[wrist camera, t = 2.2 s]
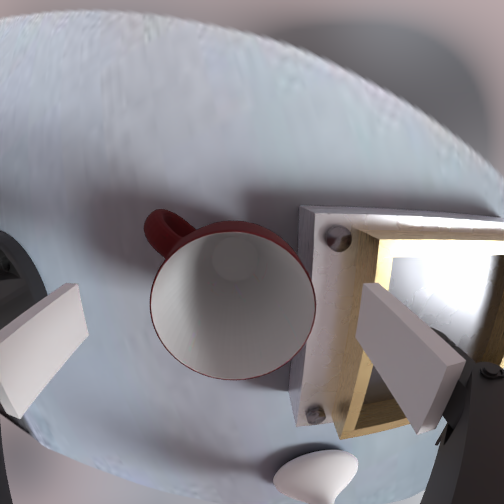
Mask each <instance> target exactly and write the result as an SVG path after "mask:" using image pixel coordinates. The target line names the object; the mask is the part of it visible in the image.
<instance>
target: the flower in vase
mask: <svg viewBox="0 0 504 504" xmlns="http://www.w3.org/2000/svg"><path fill="white" fill-rule="evenodd" d="M357 469H358V459H357V458H356V457H355V456H354V455H352V454H350V453H348V452H346V451H342V450H323V451H317V452H312V453H309V454H305V455H302V456H300V457H297V458H295V459H293V460H291V461H289V462H287V463H286V464H284V465H283V466H282V467H281V468H280V469H279V470H278V471H277V473H276V474H275V476H274V478H273V483H274V485H275V487H276V488H277V490H278V491H279V492H281V493H282V494H284V495H286V496H288V497H291V498H293V499H296V500H299V501H303V502H306V503H308V504H334V501H335V498H336V497H337V495H338V494H339V493H340V492H341V491H342V490H343V489H344V488H345V487H346V486H347V485H348V484H349V482H350V481H351V480H352V479H353V477H354V475H355V474H356V472H357Z"/></svg>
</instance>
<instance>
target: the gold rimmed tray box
mask: <svg viewBox="0 0 504 504" xmlns="http://www.w3.org/2000/svg"><path fill="white" fill-rule="evenodd" d="M298 257H299V259H300V260H301V262H302V263H303V265H304V267H305V268H306V270H307V272H308V274H309V276H310V278H311V281H312V284H313V287H314V291H315V296H316V316H315V321H314V325H313V328H312V331H311V333H310V335H309V338H308V339H307V341H306V343H305V344H304V346H303V347H302V348H301V350H300V351H299V352H298V353H297V354H296V355H295V356H294V357H293V358H292V359H291V369H290V380H289V391H288V392H289V396H290V401H291V405H292V410H293V414H294V419H295V423H296V427H299V426H309V425H317V424H325V423H332V422H334V425H335V428H336V430H337V433H338V436H339V439H340V440H342V439H347V438H353V437H358V436H363V435H367V434H372V433H376V432H381V431H385V430H389V429H393V428H397V427H400V426H404V425H407V424H410V422H409V421H408V419H407V417H406V416H405V414H404V413H403V411H402V409H401V408H400V406H399V404H398V403H397V401H396V400H395V398H394V396H393V395H392V393H391V392H390V390H389V389H388V387H387V385H386V384H385V382H384V381H383V379H382V378H381V376H380V374H379V373H378V371H377V370H376V368H375V367H374V365H373V364H372V362H371V360H370V359H369V357H368V356H367V354H366V353H365V351H364V350H363V348H362V347H361V345H360V344H359V342H358V341H357V339H356V338H355V335H356V330H357V323H358V317H359V310H360V303H361V296H362V288H363V283H379V284H380V285H381V286H383V287H384V288H385V289H386V290H387V291H389V292H390V293H391V294H392V295H393V296H394V297H396V298H397V299H398V300H399V301H400V302H402V303H403V304H404V305H405V306H406V307H407V308H408V309H410V310H411V311H412V312H413V313H414V314H415V315H417V316H418V317H419V318H420V319H421V320H422V321H423V322H424V323H426V324H427V325H428V326H429V327H430V328H431V327H432V328H434V329H436V330H438V331H440V332H442V333H444V334H445V335H446V336H447V337H448V338H449V339H450V341H453V342H454V343H455V344H456V346H458V347H459V348H460V349H462V350H463V351H464V352H465V353H466V354H467V355H468V356H469V357H470V358H471V359H472V360H474V361H475V362H476V363H479V362H491V363H494V364H496V365H498V366H500V367H501V368H502V369H503V367H504V218H501V217H492V216H482V215H472V214H461V213H449V212H437V211H423V210H407V209H390V208H369V207H343V206H302V205H299V226H298Z"/></svg>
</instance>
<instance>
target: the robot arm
mask: <svg viewBox="0 0 504 504" xmlns="http://www.w3.org/2000/svg"><path fill="white" fill-rule="evenodd" d="M88 335H89V333H88V329H87V325H86V321H85V316H84V312H83V307H82V302H81V297H80V292H79V287H78V284H75V283H65V284H64V285H62V286H61V287H59V288H58V289H56V290H55V291H53V292H52V293H50V294H49V295H48V296H47V292H46V289H45V287H44V284H43V281H42V279H41V277H40V275H39V273H38V271H37V269H36V267H35V265H34V263H33V262H32V260H31V259H30V257H29V256H28V254H27V253H26V252H25V250H24V249H23V248H22V247H21V246H20V245H19V244H18V243H17V242H16V241H15V240H14V239H13V238H12V237H10V236H9V235H7V234H5V233H3V232H1V231H0V402H1V404H2V406H3V407H4V409H5V411H6V413H7V414H9V415H12V416H14V417H16V418H19V419H20V418H21V417H22V416H23V414H24V413H25V412H26V411H27V409H28V408H29V407H30V405H31V404H32V403H33V401H34V400H35V399H36V398H37V396H38V395H39V394H40V393H41V391H42V390H43V389H44V388H45V386H46V385H47V384H48V383H49V381H50V380H51V379H52V378H53V376H54V375H55V374H56V373H57V372H58V370H59V369H60V368H61V367H62V366H63V364H64V363H65V362H66V361H67V360H68V359H69V357H70V356H71V355H72V354H73V353H74V351H75V350H76V349H77V348H78V347H79V346H80V345H81V343H82V342H83V341H84V340H85V339H86V338H87V337H88ZM355 338H356V339H357V341H358V342H359V344H360V345H361V347H362V348H363V350H364V351H365V353H366V354H367V356H368V357H369V359H370V360H371V362H372V364H373V365H374V367H375V368H376V370H377V371H378V373H379V374H380V376H381V378H382V379H383V381H384V382H385V384H386V385H387V387H388V389H389V390H390V392H391V393H392V395H393V396H394V398H395V400H396V401H397V403H398V404H399V406H400V408H401V409H402V411H403V413H404V414H405V416H406V417H407V419H408V421H409V422H410V424H411V426H412V427H413V429H414V431H415V432H416V434H417V435H418V434H421V433H424V432H427V431H430V430H433V429H436V427H437V425H438V423H439V421H440V419H441V417H442V415H443V417H444V418H445V419H446V421H447V424H446V426H445V428H444V430H443V431H442V433H441V435H440V437H439V438H438V440H437V442H436V444H435V445H437V446H438V444H439V442H440V441H441V442H440V446H439V449H438V453H437V456H436V460H435V463H434V466H433V469H432V472H431V475H430V478H429V481H428V484H427V487H426V490H425V492H424V495H423V498H422V500H421V503H420V504H504V370H503V369H502V368H501V367H500V366H498V365H496V364H494V363H491V362H479V363H476V362H475V361H474V360H472V359H471V358H470V357H469V356H468V355H467V354H466V353H465V352H464V351H463V350H462V349H460V348H459V347H458V346H456V344H455V343H454V342H453V341H450V339H449V338H448V337H447V336H446V335H445V334H444V333H442V332H440V331H438V330H436V329H434V328H432V327H431V328H430V327H429V326H428V325H427V324H426V323H424V322H423V321H422V320H421V319H420V318H419V317H418V316H417V315H415V314H414V313H413V312H412V311H411V310H410V309H408V308H407V307H406V306H405V305H404V304H403V303H402V302H400V301H399V300H398V299H397V298H396V297H394V296H393V295H392V294H391V293H390V292H389V291H387V290H386V289H385V288H384V287H383V286H381V285H380V284H379V283H363V288H362V296H361V303H360V310H359V317H358V323H357V330H356V335H355ZM0 504H13V503H12V499H11V494H10V490H9V485H8V480H7V475H6V469H5V463H4V456H3V448H2V438H1V427H0Z"/></svg>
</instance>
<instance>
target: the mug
mask: <svg viewBox="0 0 504 504" xmlns="http://www.w3.org/2000/svg"><path fill="white" fill-rule="evenodd" d="M144 232H145V236H146V238H147V240H148V242H149V243H150V244H151V246H152V247H153V248H154V249H155V250H156V251H157V252H158V253H160V254H161V255H162V256H163V257H165V261H164V262H163V263H162V265H161V267H160V268H159V270H158V272H157V274H156V276H155V279H154V282H153V285H152V289H151V294H150V314H151V319H152V323H153V326H154V329H155V331H156V333H157V336H158V337H159V339H160V341H161V342H162V344H163V345H164V347H165V348H166V349H167V350H168V352H169V353H170V354H171V355H172V356H173V357H174V358H175V359H177V360H178V361H179V362H180V363H182V364H183V365H185V366H186V367H188V368H189V369H191V370H193V371H195V372H197V373H200V374H202V375H205V376H208V377H212V378H217V379H223V380H246V379H252V378H256V377H260V376H263V375H266V374H268V373H271V372H273V371H275V370H277V369H279V368H280V367H282V366H283V365H285V364H286V363H287V362H289V361H290V360H291V359H292V358H293V357H294V356H295V355H296V354H297V353H298V352H299V351H300V350H301V348H302V347H303V346H304V344H305V343H306V341H307V339H308V338H309V335H310V333H311V331H312V328H313V325H314V321H315V316H316V296H315V291H314V287H313V284H312V281H311V278H310V276H309V274H308V272H307V270H306V268H305V267H304V265H303V263H302V262H301V260H300V259H299V257H298V256H297V254H296V253H295V252H294V250H293V249H292V248H291V247H290V246H289V245H288V244H287V243H286V242H285V241H284V240H283V239H282V238H281V237H279V236H278V235H277V234H275V233H274V232H272V231H270V230H268V229H267V228H264V227H262V226H260V225H257V224H254V223H249V222H244V221H222V222H216V223H213V224H209V225H207V226H204V227H202V228H200V229H198V230H196V229H195V228H194V227H193V226H191V225H190V224H189V223H188V222H187V221H185V220H184V219H183V218H181V217H180V216H178V215H177V214H175V213H173V212H171V211H168V210H165V209H157V210H155V211H153V212H152V213H151V214H150V215H149V216H148V217H147V219H146V221H145V223H144Z"/></svg>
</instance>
